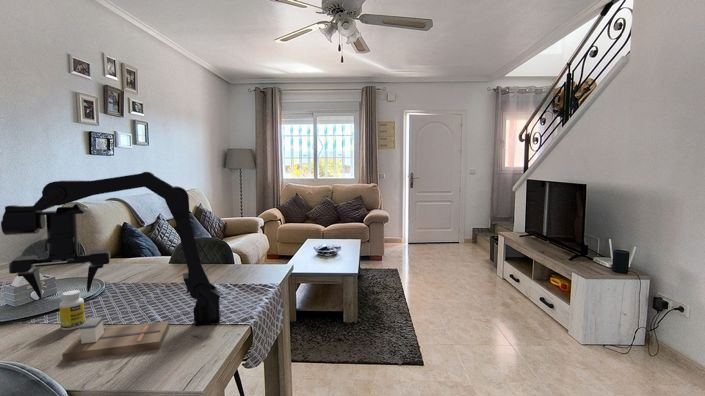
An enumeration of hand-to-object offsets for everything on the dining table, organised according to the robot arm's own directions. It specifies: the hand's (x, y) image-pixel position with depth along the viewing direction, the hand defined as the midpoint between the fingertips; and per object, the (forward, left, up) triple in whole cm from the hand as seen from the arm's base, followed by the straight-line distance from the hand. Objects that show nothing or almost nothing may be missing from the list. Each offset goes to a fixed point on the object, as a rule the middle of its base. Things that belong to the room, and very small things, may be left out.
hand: (65, 294), depth 88 cm
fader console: (-12, +2, -13) cm, 18 cm away
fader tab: (-6, +2, -11) cm, 13 cm away
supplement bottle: (+4, -13, -13) cm, 19 cm away
